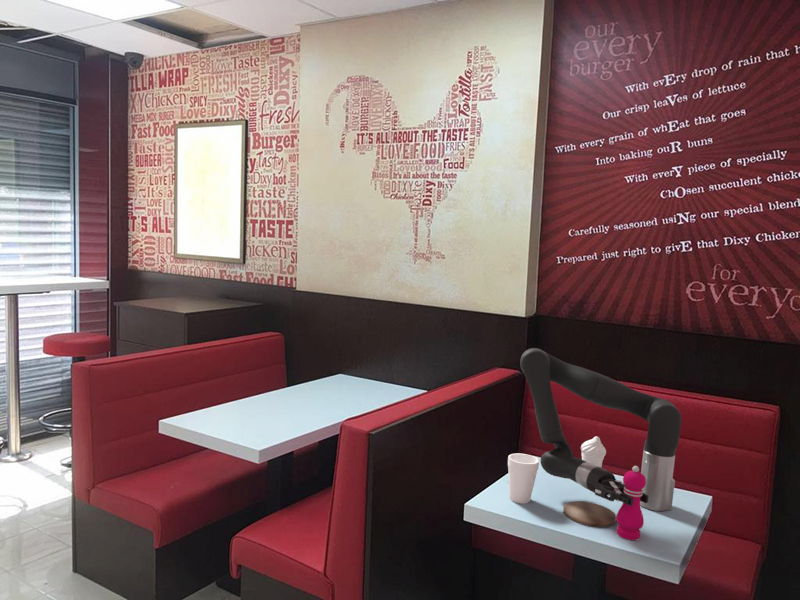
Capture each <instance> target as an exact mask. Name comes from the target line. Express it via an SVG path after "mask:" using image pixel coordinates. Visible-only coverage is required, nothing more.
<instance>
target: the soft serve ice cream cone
mask: <svg viewBox="0 0 800 600" xmlns="http://www.w3.org/2000/svg"><path fill="white" fill-rule="evenodd" d="M580 450H581V459H582V460H584V461H586V462H588V463H591V464H594V465H597V466H599V467H601V468H603V467H602V465H603V460H605V459H604V458H605V456H606V454H607V449H606V447H604V445H603V443H602V441H601V439H600V437H599V436H594V437H593V438H592V439H588V440H586V441H584V442H583V443H581V446H580Z"/></svg>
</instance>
